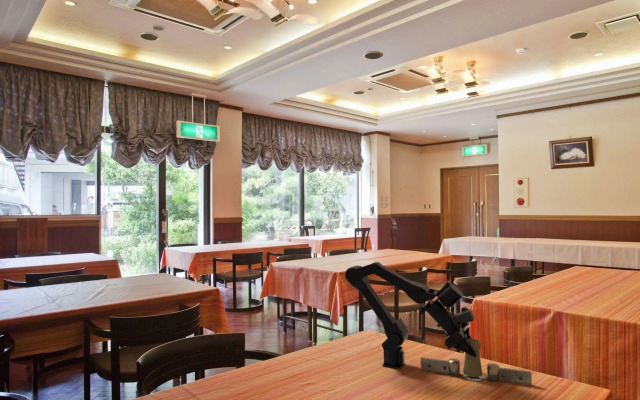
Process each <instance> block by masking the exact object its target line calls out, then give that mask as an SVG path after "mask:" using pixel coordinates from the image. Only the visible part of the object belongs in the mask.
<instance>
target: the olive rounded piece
mask: <svg viewBox="0 0 640 400" xmlns="http://www.w3.org/2000/svg"><path fill="white" fill-rule="evenodd" d="M467 341H468V342H469V344H470V345H471V347H472V348H473V349H474V351H475V352H476V354H477V356H476V357H473V356H471V355H469V354H467V353H465V352H464V362H463V370H462V373H464V374H466V375H468V376H472V377H479V376H482V375H483V369H482V363H481V361H482V360H481V355H480V350H481V348H482V345H481V342H480V340H479V339H476V338H473V337H472V338H469V339H467Z"/></svg>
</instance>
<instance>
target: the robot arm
mask: <svg viewBox="0 0 640 400" xmlns="http://www.w3.org/2000/svg"><path fill="white" fill-rule="evenodd" d="M371 275H375V276H377V277H379V278H380V279H383V280H384V281H386V282H388V283H389V284H391V285H392V286H394V287H396V288H398V289H399V290H401V291H403V292H404V294H405V296H407V297H408V298H409V299H410V300H411V301H413V302H414V303H415V304H418V305H420V306H419V308H420V312H419V314H420V315H424V313H425V312H426V313H427V314H428V315H429V316H430V317H431V318H432V320H433V321H435V322H436V324H437V325H436V327H438V328H441V329H442V330H443V332H445V333H446V334H445V336H446V337H445V339H444V345H445V346H446V348H447V349H448V350H450V349H452V348H453V349H456V350H458V351H461V352H463V353H464V354H465V353H467V354H469V355H471V356H473V357H476V356H477V354H476V352H475V351H474V349H473V348H472V347H471V345H470V344H469V342H468V341H467V339H469V338H472V339H473V337H472V335H471V333H470V331H471V327H470V326H469V325H470V324H471V323H472V322H474V320H475V319H476V318H475V315H474V312H473V310H472V309H471V308H468V307H467V306H463V307H461V309H460V311H459V312H457V313H454V311H449V309H448V307H449V308H452V307H454V306H455V305H456V304H457V303H458V302H459V301H460V300H461V299H462V298H464V294H463V292H462V291H461V289H460V288H459V287H458V286H455V285H454V284H453V283H451V282H450V281H447V282H446V283H445V284H443V287H441V288H440V289H435V288H434V289H433V288H430V286H428V285H427V284H424V283H421V282H418V281H413V280H411V279H408V278H406V277H404V276H402V275H401V274H399V273H397V272H396V271H394V270H392V269H390V268H388V267H387V266H385V265H383V264H382V263H381V262H380V261H379V262H378V261H374V262H372V263H369V264H367V265H363V266H361V265H354V266H351V267H350V266H349V267H348V268H347V269H346V270H345V273H344V277H345V280H346V281H347V282H348V283H349V284H350V286H351V287H352V288H355V290H357V291H358V292H359V293H360V294H361V295H362V296H363V298H364V300H365V301H366V302H367V305H368V306H369V307H370V308H371V310H372V312H374V314H375V316H376V317H377V318H378V320H379V321H380V322H381V324H382V327H383V330H384V334H385V336H386V339H385V340H383V342H382V343H381V346H382V349H383V363H382V364H381V365H382V366H383V367H386V368H394V369H401V368H402V367H403V365H404V364H405V363H406V362H405V360H406V359H405V351H403V349H404V348H403V346H402V345H403V343H404V342H406V340H407V339H408V338H409V331H408V326H407V325H406V324H405V323H404V322H403V319H402V318H401V317H400V318H399V319H397V318H395V317H394V316H393V315H392V314H391V312H390V311H389V309H388V307H386V305H385V303H384V302H383V301H382V299H381V298H380V296H379V295H378V294H377V292H376V291H375V289H374V288H373V287H372V285H371V284H370V279H369V276H371ZM436 297H437V298H436ZM435 298H436V299H435ZM434 299H435V300H434ZM433 300H434V301H433ZM427 301H428V302H427ZM425 303H426V304H425ZM423 304H424V305H423ZM466 327H467V328H466Z"/></svg>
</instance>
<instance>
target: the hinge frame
mask: <svg viewBox="0 0 640 400" xmlns="http://www.w3.org/2000/svg"><path fill="white" fill-rule="evenodd" d="M420 371H424V372H431V373H439V374H445V375H449V376H452V377H459V376H461V361H460V359H458V358H450V359H448V360H446V359H436V358H429V357H420ZM486 372H487V373H486V376H487V377H485V375H482V376H479V377H472V376H468V375H466V374H464V373H463V372H462V373H463V374H462V377H463V378H464V380H468V381H471V382H481V381H484V380H485V378H487V381H489V382H492V383H499V382H502V383H509V384H517V385H523V386H531V387H532V385H533V383H532V381H533V379H532V371H530V370H522V369H518V368H517V369H514V368H508V367H500V366H499V364H496V363H487V364H486Z"/></svg>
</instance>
